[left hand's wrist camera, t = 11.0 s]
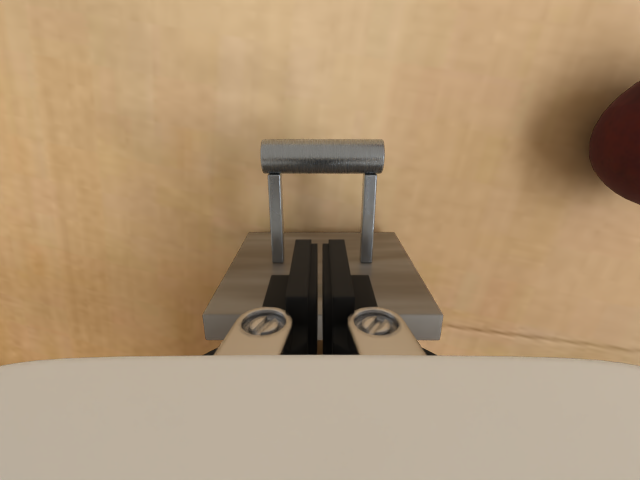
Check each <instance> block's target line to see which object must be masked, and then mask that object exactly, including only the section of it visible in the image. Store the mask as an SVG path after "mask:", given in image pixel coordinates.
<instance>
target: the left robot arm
mask: <svg viewBox="0 0 640 480" xmlns="http://www.w3.org/2000/svg"><path fill="white" fill-rule="evenodd" d="M317 337H318V245H317V243H311V239H296V240H295V246H294V251H293V257H292V262H291V268H290V273H289V275H271V278H270V281H269V285H268V288H267V292H266V295H265V299H264V302H263V305H262V307H260V308H255V309H252V310H249V311H247V312H245V313H243V314H242V315H241V316H240V317H239V318H238V319H237V320H236V321H235V323H234V324H233V326H232V327H231V329H230V330H229V332H228V334H227V335H226V337H225V338H224V340H223V341H222V343H221V344H220V346H219V347H218V348H216V349H214V350H212V351H210V352H208V353H206V354H204V355H202V356H125V357H92V358H66V359H51V360H37V361H29V362H22V363H14V364H8V365H3V366H0V480H640V366H637V365H631V364H626V363H619V362H610V361H602V360H589V359H573V358H549V357H511V356H438V355H436V354H434V353H432V352H430V351H428V350H426V349H424V348H422V347H421V346H420V344H419V343H418V341H417V340H416V338H415V337H414V335H413V334H412V332H411V330H410V329H409V327H408V326H407V324H406V323H405V321H404V320H403V319H402V318H401V317H400V316H399V315H398V314H397V313H395V312H393V311H391V310H388V309H385V308H380V307H378V305H377V302H376V299H375V295H374V292H373V288H372V285H371V281H370V278H369V275H351V273H350V268H349V262H348V257H347V251H346V246H345V240H344V239H329V243H323V245H322V337H323V355H317Z"/></svg>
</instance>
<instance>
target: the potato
mask: <svg viewBox="0 0 640 480" xmlns="http://www.w3.org/2000/svg"><path fill="white" fill-rule="evenodd" d="M589 158H590V161H591V164H592V167H593V170H594V171H595V172H596V174H597V175H598V176H599V178H600V179H601V180H602V181H603V183H604V184H605V185H606V186H608V187H609V188H610V189H611V190H613V191H614V192H615V193H617V194H618V195H620V196H622V197H624V198H625V199H628V200H630V201H632V202H635V203H637V204H639V205H640V81H639V82H637V83H636V84H634V85H633V86H632V87H630V88H629V89H628V90H627V91H625V92H624V93H623V94H621V95H620V96H619V97H618V98H617V99H616V100H615V101H614V102H613V103H612V104H611V105H610V106H609V107H608V108H607V109H606V110H605V112H604V113H603V114H602V115H601V117H600V119H599V120H598V122H597V124H596V126H595V128H594V129H593V133H592V136H591V139H590V149H589Z"/></svg>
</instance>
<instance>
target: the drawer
mask: <svg viewBox="0 0 640 480" xmlns="http://www.w3.org/2000/svg"><path fill="white" fill-rule="evenodd" d="M384 156H385V150H384V142H383V140H382V139H263V140H262V142H261V166H262V171H263V173H265V174H268V190H269V210H270V229H271V232H249V233H248V235H247V237H246V239H245V241H244V242H243V244H242V246H241V248H240V249H239V251H238V253H237V255H236V257H235V258H234V260H233V262H232V264H231V265H230V267H229V269H228V271H227V272H226V274H225V276H224V278H223V280H222V281H221V283H220V285H219V287H218V288H217V290H216V292H215V294H214V295H213V297H212V299H211V301H210V303H209V304H208V306H207V308H206V310H205V311H204V313H203V315H202V316H203V323H204V330H205V338H206V340H224V338H225V337H226V335H227V334H228V332H229V330H230V329H231V327H232V326H233V324H234V323H235V321H236V320H237V319H238V318H239V317H240V316H241V315H242V314H243V313H245V312H247V311H249V310H252V309H255V308H260V307H262V305H263V302H264V299H265V295H266V292H267V288H268V285H269V281H270V278H271V275H289V273H290V268H291V262H292V257H293V251H294V246H295V240H296V239H311V243H317V245H318V337H317V355H323V337H322V245H323V243H329V239H344V240H345V246H346V251H347V257H348V262H349V268H350V273H351V275H369V278H370V281H371V285H372V288H373V292H374V295H375V299H376V302H377V305H378V307H380V308H385V309H388V310H391V311H393V312H395V313H397V314H398V315H399V316H400V317H401V318H402V319H403V320H404V321H405V323H406V324H407V326H408V327H409V329H410V330H411V332H412V334H413V335H414V337H415V338H416V340H440V334H441V327H442V321H443V314H442V312H441V310H440V309H439V307H438V305H437V304H436V302H435V300H434V299H433V297H432V295H431V294H430V292H429V290H428V288H427V287H426V285H425V283H424V282H423V280H422V278H421V277H420V275H419V273H418V272H417V270H416V268H415V267H414V265H413V263H412V261H411V260H410V258H409V256H408V255H407V253H406V251H405V250H404V248H403V246H402V245H401V243H400V241H399V240H398V238H397V236H396V234H395V233H394V232H374V221H375V204H376V186H377V174H380V173H382V171H383V167H384ZM282 174H363V189H362V212H361V232H284V225H283V198H282Z"/></svg>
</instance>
